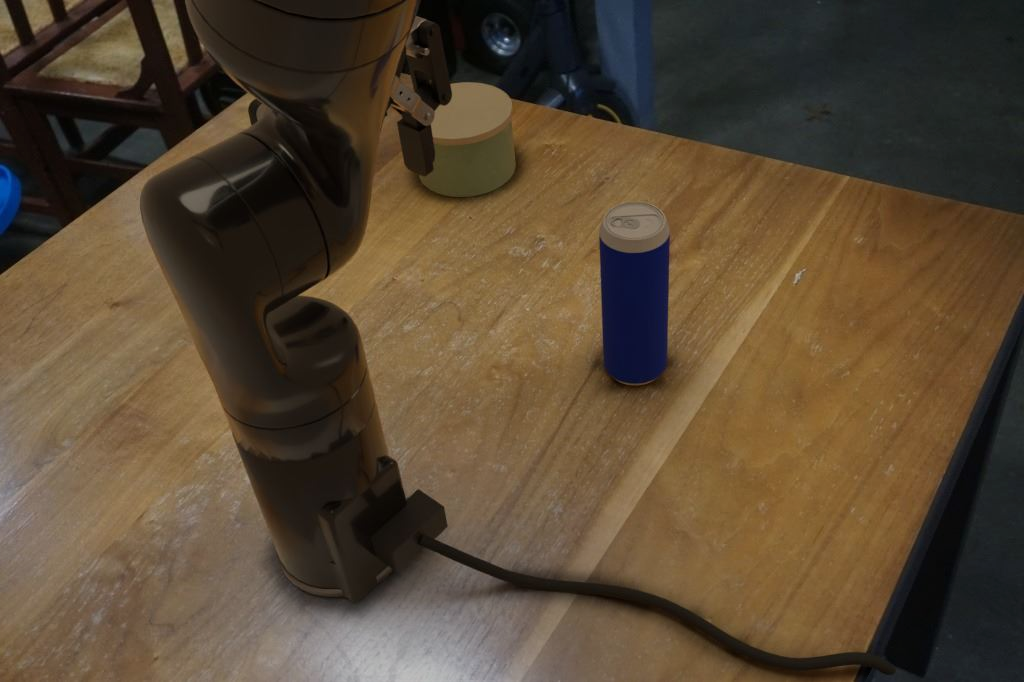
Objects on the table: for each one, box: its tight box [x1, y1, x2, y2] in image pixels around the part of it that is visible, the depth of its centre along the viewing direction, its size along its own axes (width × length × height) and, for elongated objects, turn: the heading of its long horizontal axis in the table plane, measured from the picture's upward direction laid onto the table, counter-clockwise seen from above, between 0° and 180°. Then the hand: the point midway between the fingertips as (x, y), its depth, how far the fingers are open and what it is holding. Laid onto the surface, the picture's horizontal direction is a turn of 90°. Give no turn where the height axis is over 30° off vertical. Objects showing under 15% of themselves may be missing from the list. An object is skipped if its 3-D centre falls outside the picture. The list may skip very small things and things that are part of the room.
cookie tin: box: [418, 81, 517, 198], centre depth 111 cm, size 10×10×7 cm
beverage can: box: [598, 201, 671, 387], centre depth 85 cm, size 5×5×15 cm
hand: (375, 200), depth 74 cm, fingers open, 8 cm apart
